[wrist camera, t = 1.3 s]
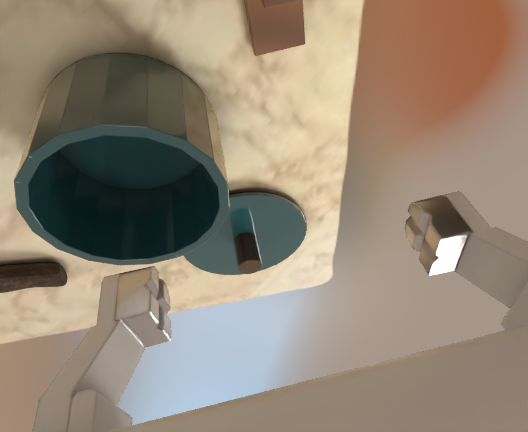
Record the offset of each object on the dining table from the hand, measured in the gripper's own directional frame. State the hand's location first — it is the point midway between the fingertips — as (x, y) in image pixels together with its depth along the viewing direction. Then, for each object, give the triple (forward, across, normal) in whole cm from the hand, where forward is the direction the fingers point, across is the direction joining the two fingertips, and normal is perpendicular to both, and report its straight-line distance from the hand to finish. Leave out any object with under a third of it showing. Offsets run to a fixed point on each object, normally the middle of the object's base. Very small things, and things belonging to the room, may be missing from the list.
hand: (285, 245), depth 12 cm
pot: (+23, +9, +8) cm, 26 cm away
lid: (+23, +2, +26) cm, 35 cm away
